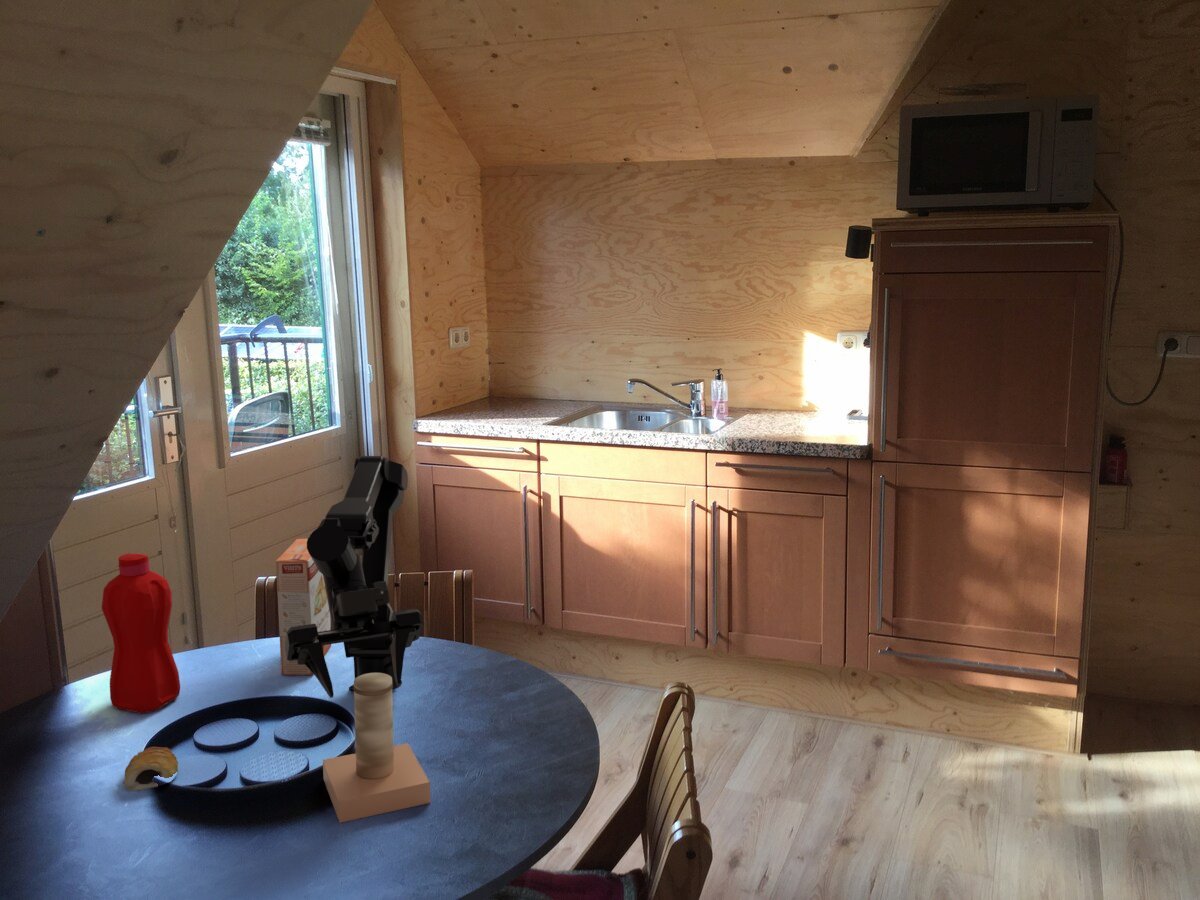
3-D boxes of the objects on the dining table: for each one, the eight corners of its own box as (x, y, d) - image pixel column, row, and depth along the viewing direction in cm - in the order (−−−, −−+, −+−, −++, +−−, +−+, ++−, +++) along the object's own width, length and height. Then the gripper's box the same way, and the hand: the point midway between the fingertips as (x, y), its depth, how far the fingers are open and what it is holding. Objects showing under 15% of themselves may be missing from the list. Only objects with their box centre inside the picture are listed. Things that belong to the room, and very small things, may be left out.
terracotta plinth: (339, 822, 134) (338, 801, 134) (323, 779, 145) (322, 759, 145) (430, 802, 139) (429, 782, 139) (408, 762, 150) (407, 743, 149)
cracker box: (315, 676, 179) (309, 560, 175) (280, 676, 179) (272, 560, 175) (334, 645, 193) (328, 536, 189) (301, 645, 193) (295, 536, 189)
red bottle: (197, 690, 174) (185, 546, 169) (148, 718, 164) (134, 566, 159) (152, 682, 177) (139, 541, 172) (102, 709, 167) (87, 559, 162)
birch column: (348, 774, 140) (345, 683, 138) (371, 757, 145) (369, 669, 142) (378, 782, 138) (376, 690, 136) (401, 766, 143) (400, 676, 140)
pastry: (132, 762, 150) (130, 737, 150) (182, 756, 152) (181, 732, 151) (123, 794, 142) (121, 769, 141) (176, 788, 143) (174, 762, 143)
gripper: (282, 572, 141) (300, 679, 133) (418, 555, 148) (442, 655, 141) (278, 608, 150) (294, 711, 142) (406, 590, 157) (428, 687, 150)
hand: (365, 690), depth 143 cm, fingers open, 9 cm apart
